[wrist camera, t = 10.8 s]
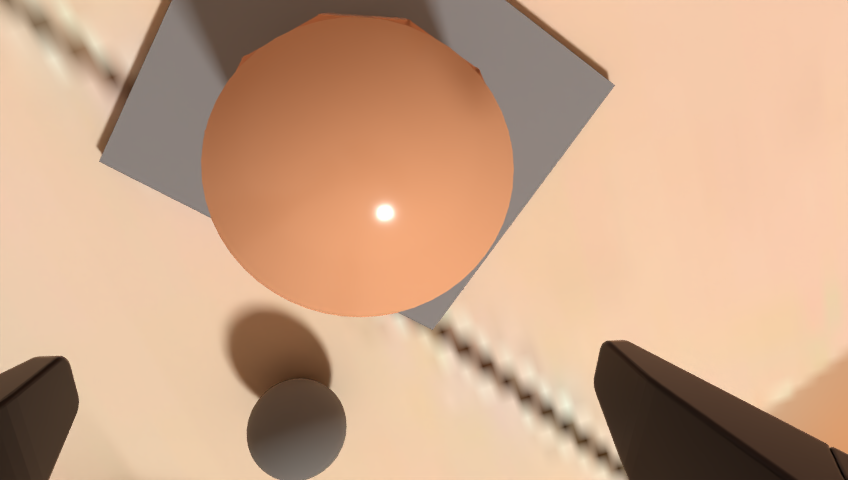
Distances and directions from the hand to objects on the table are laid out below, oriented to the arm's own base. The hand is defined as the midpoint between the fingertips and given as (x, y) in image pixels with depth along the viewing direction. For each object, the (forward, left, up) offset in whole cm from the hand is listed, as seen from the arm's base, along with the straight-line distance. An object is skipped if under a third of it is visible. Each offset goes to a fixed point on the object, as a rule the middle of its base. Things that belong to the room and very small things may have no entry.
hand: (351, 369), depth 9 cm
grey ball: (+3, -10, -12) cm, 16 cm away
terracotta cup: (-1, +2, -11) cm, 12 cm away
